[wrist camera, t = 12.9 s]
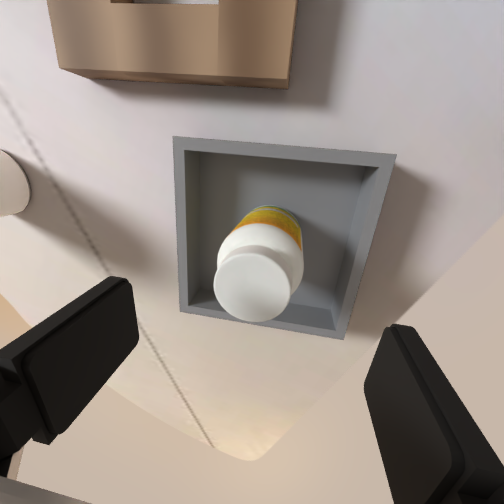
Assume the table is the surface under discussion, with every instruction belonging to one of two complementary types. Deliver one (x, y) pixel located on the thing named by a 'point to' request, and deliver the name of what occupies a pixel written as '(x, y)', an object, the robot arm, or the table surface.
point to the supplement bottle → (260, 265)
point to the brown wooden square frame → (177, 41)
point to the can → (12, 186)
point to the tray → (291, 199)
